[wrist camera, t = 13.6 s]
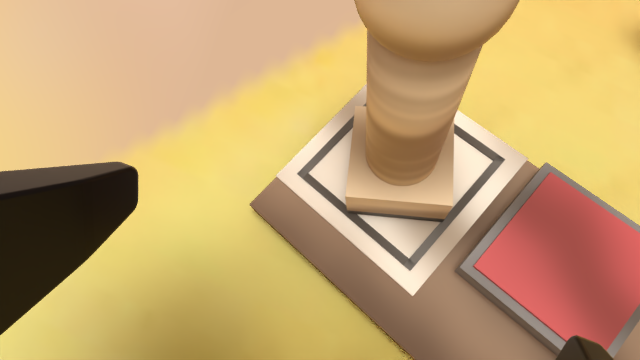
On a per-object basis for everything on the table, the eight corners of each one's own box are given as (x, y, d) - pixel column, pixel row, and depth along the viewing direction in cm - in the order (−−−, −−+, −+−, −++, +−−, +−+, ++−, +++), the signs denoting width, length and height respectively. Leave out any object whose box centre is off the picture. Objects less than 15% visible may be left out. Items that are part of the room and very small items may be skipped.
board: (670, 598, 16) (719, 639, 14) (254, 209, 23) (242, 196, 21) (805, 367, 18) (866, 371, 16) (386, 74, 25) (389, 48, 23)
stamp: (442, 222, 21) (590, -16, 7) (347, 213, 21) (320, -21, 8) (444, 136, 22) (568, -187, 9) (356, 130, 23) (345, -181, 10)
